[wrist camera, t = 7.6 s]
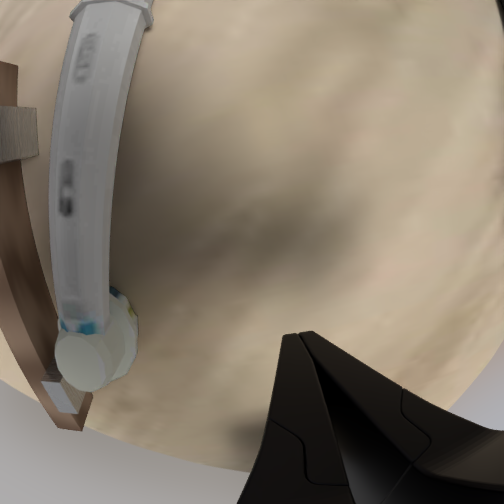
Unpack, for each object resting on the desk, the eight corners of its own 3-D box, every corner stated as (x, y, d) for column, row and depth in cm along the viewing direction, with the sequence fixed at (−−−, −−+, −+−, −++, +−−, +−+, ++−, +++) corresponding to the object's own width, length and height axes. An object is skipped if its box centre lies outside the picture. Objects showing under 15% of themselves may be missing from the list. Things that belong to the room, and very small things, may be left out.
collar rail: (109, 397, 22) (97, 442, 17) (70, 395, 21) (54, 437, 17) (36, 57, 12) (-8, 42, 8) (-7, 77, 12) (-53, 71, 7)
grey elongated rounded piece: (170, -53, 8) (127, 427, 14) (178, 6, 15) (144, 364, 20) (76, -42, 8) (45, 409, 13) (106, 9, 14) (78, 354, 19)
